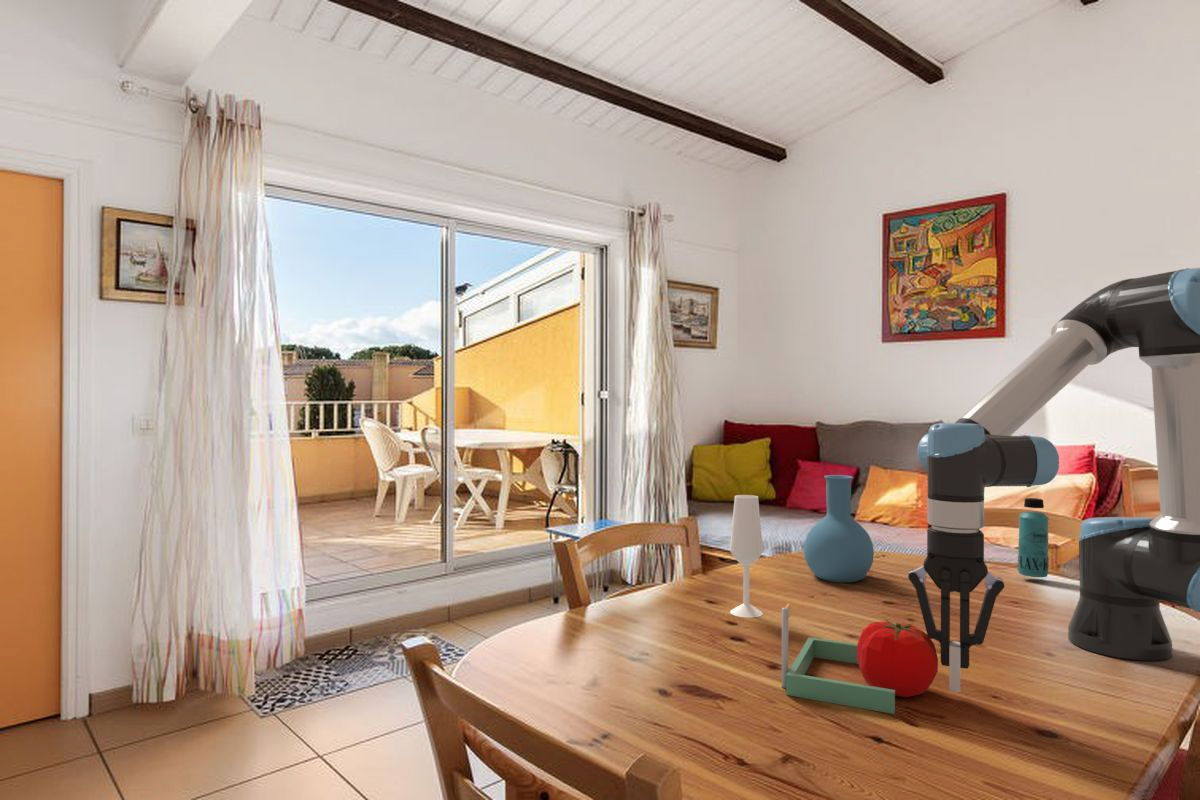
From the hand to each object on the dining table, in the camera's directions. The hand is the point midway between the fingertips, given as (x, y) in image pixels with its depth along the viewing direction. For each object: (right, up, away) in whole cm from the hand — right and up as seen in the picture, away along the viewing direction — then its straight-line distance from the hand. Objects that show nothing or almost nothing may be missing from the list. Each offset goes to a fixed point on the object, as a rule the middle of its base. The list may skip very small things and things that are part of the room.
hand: (954, 688), depth 107 cm
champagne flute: (-22, -2, +43) cm, 48 cm away
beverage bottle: (+53, -2, +70) cm, 88 cm away
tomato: (-7, -2, +3) cm, 8 cm away
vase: (+7, -2, +72) cm, 73 cm away
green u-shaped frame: (-14, -2, +7) cm, 16 cm away
